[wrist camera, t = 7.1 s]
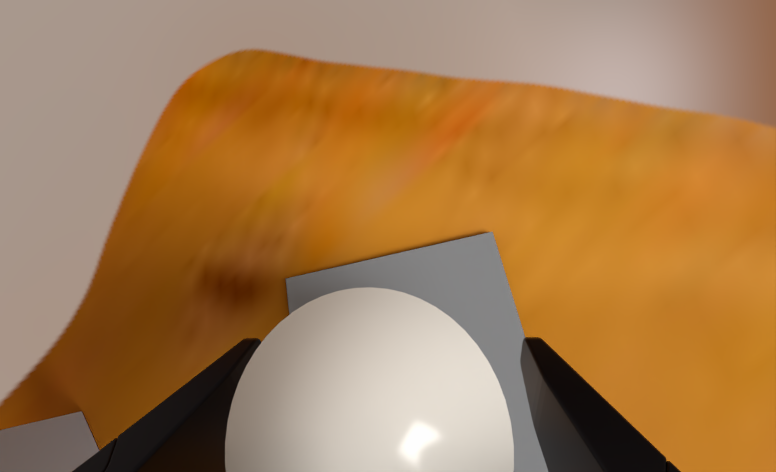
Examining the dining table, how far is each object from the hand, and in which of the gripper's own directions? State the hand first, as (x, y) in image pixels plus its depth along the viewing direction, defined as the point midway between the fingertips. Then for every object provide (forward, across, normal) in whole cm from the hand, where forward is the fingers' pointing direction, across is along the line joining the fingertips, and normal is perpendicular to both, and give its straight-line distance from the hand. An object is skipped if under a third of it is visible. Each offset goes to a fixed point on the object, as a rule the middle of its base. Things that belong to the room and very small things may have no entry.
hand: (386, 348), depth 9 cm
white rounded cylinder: (+5, 0, +7) cm, 8 cm away
